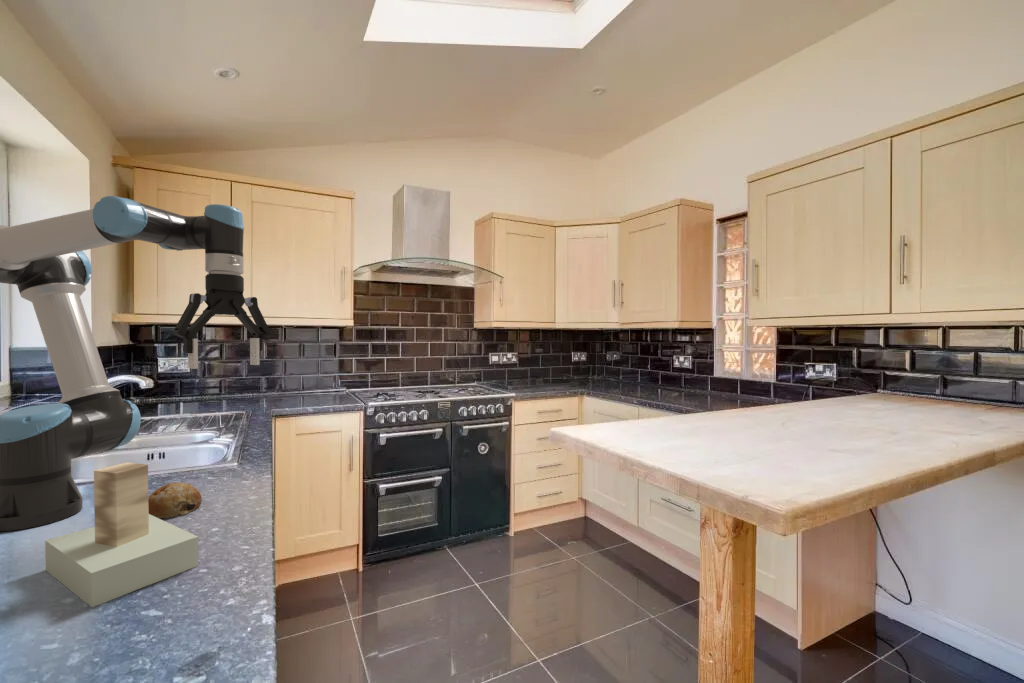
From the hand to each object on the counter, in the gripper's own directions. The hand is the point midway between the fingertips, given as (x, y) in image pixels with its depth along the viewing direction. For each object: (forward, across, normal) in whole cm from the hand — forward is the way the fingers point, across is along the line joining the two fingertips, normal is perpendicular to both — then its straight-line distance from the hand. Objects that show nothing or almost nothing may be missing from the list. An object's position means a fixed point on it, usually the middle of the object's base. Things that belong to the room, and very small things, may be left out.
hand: (225, 366), depth 107 cm
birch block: (+27, -25, -16) cm, 40 cm away
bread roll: (+32, -9, +5) cm, 34 cm away
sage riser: (+32, -25, -16) cm, 43 cm away
